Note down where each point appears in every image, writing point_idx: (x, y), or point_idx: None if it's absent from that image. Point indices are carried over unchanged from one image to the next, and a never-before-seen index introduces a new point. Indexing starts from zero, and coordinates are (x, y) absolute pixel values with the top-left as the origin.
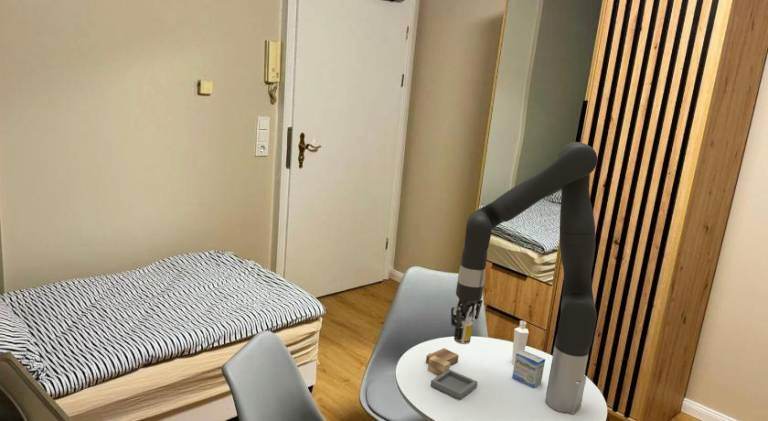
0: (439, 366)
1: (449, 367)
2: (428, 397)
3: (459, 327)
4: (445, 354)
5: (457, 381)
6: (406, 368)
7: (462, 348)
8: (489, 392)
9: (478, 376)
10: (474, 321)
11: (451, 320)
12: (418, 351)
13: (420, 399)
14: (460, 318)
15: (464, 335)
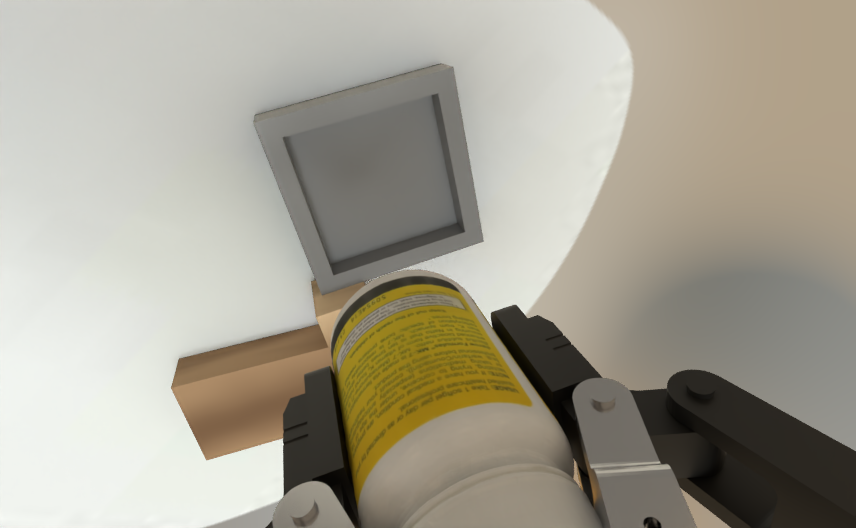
0: None
1: (319, 300)
2: (543, 161)
3: (681, 377)
4: (246, 408)
5: (332, 203)
6: None
7: (41, 466)
8: (209, 33)
9: (151, 207)
10: (290, 502)
11: (769, 491)
12: None
13: (582, 164)
14: (814, 485)
15: (484, 328)
